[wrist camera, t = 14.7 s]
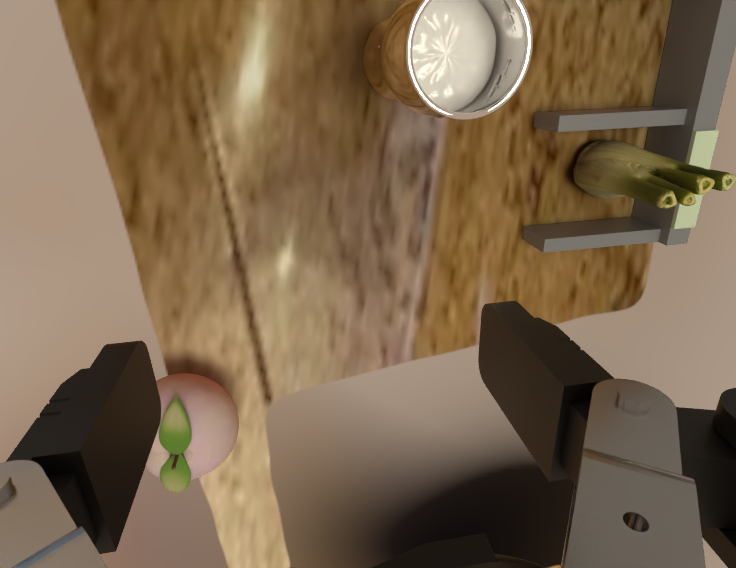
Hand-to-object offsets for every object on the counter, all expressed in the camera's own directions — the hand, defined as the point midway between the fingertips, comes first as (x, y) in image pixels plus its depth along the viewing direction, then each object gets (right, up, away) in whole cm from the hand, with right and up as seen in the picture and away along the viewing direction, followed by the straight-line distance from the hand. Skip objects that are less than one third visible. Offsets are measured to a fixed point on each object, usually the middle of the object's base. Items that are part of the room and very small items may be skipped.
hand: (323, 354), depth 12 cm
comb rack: (+22, +16, +30) cm, 40 cm away
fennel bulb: (+22, +12, +32) cm, 41 cm away
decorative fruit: (-15, -8, +34) cm, 39 cm away
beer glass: (+4, +19, +26) cm, 32 cm away
